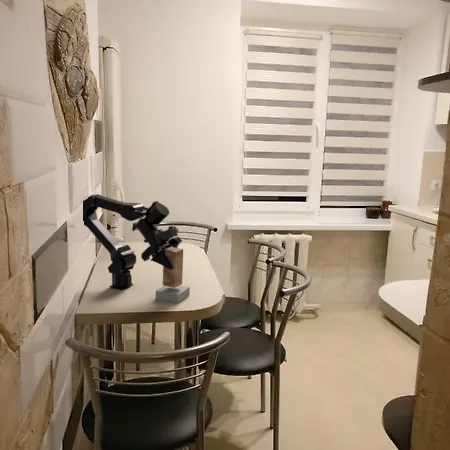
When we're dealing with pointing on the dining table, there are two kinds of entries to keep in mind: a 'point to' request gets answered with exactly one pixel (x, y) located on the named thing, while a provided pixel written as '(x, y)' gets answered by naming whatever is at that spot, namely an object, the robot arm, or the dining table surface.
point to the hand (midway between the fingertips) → (176, 267)
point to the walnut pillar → (175, 275)
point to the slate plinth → (173, 293)
